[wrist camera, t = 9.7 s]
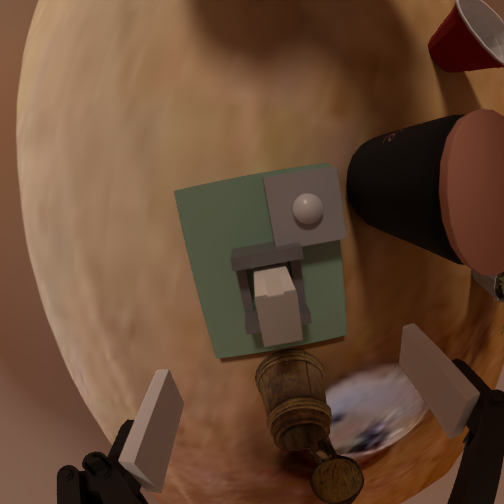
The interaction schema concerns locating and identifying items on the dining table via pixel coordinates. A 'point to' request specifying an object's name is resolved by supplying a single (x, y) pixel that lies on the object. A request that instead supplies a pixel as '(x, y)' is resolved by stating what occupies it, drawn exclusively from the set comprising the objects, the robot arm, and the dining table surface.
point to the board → (266, 251)
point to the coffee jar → (437, 187)
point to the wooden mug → (306, 421)
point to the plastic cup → (469, 38)
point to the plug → (277, 305)
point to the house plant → (491, 284)
